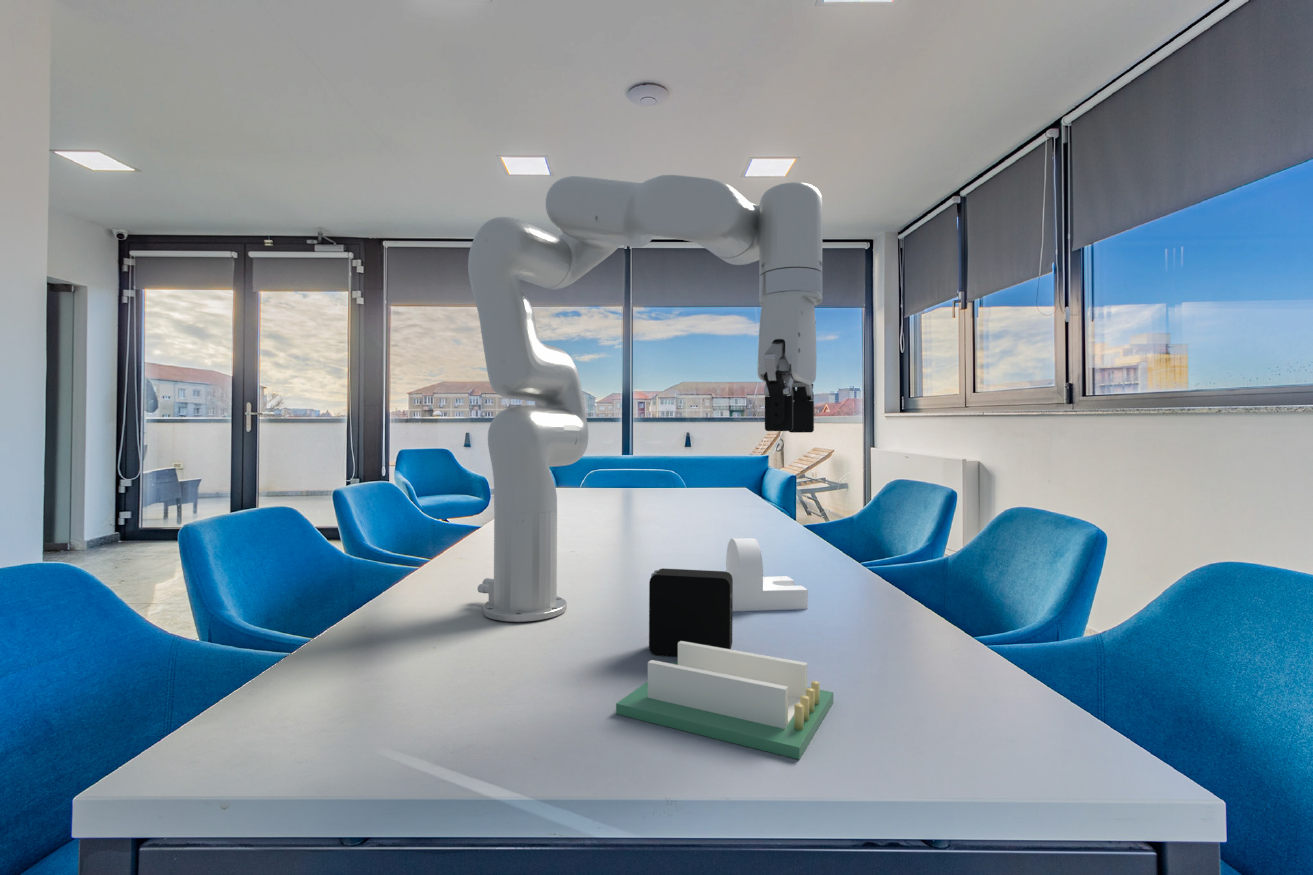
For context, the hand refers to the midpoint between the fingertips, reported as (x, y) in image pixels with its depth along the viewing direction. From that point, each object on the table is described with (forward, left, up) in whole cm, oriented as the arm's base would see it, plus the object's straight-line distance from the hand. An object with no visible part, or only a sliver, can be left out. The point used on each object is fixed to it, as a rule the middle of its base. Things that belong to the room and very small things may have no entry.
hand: (790, 431), depth 75 cm
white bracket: (-14, +22, -28) cm, 38 cm away
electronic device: (-12, -3, -28) cm, 31 cm away
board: (-2, -16, -28) cm, 32 cm away
